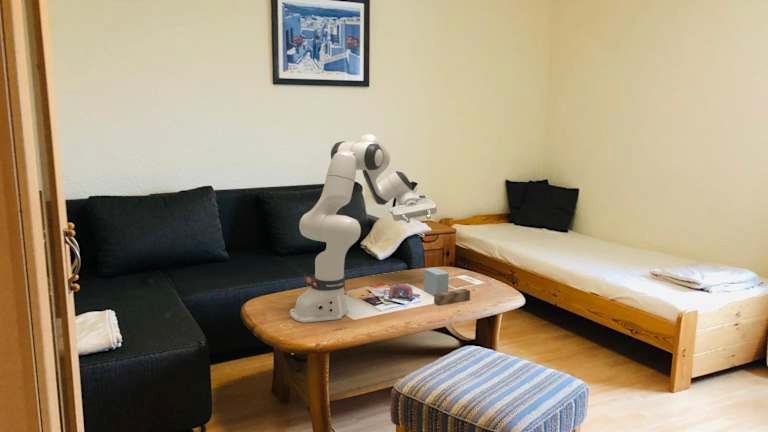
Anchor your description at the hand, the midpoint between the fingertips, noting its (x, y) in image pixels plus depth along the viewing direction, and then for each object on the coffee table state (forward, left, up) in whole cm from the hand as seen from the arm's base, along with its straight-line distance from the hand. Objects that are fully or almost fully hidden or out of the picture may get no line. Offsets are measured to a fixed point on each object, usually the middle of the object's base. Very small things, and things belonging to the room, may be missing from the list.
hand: (418, 219), depth 250 cm
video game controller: (-13, -9, -32) cm, 35 cm away
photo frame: (+23, -2, -32) cm, 39 cm away
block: (+4, -10, -31) cm, 33 cm away
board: (+4, -22, -31) cm, 38 cm away
